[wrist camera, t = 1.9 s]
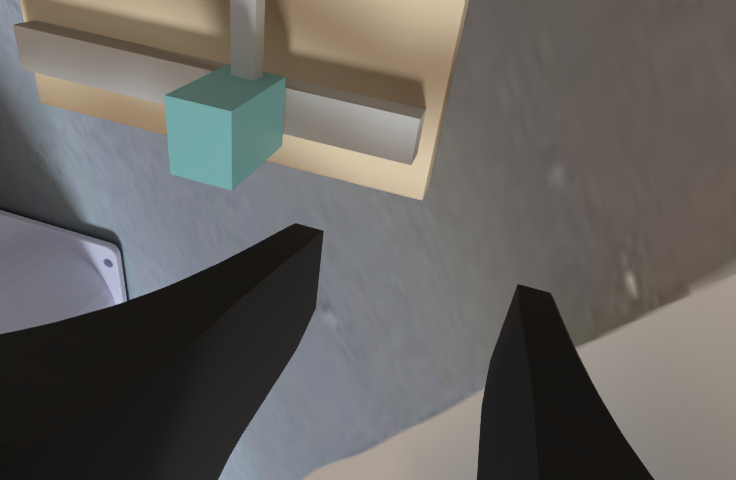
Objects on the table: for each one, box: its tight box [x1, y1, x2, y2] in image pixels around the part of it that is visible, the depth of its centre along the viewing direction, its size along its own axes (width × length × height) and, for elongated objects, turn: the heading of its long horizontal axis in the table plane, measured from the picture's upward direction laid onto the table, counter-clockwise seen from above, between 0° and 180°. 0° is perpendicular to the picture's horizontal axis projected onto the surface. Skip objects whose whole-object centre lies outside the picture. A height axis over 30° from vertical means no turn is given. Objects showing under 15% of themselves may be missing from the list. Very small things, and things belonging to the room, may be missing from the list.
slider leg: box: [164, 0, 286, 190], centre depth 16 cm, size 7×2×5 cm, turn 172°
